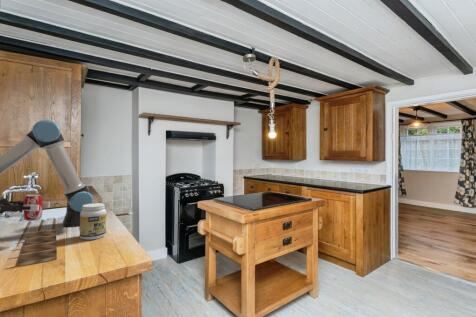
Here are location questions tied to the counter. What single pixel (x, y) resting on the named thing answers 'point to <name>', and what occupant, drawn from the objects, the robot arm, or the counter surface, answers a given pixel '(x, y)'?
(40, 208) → the soda can
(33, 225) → the counter surface
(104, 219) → the supplement tub
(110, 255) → the counter surface
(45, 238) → the rack
